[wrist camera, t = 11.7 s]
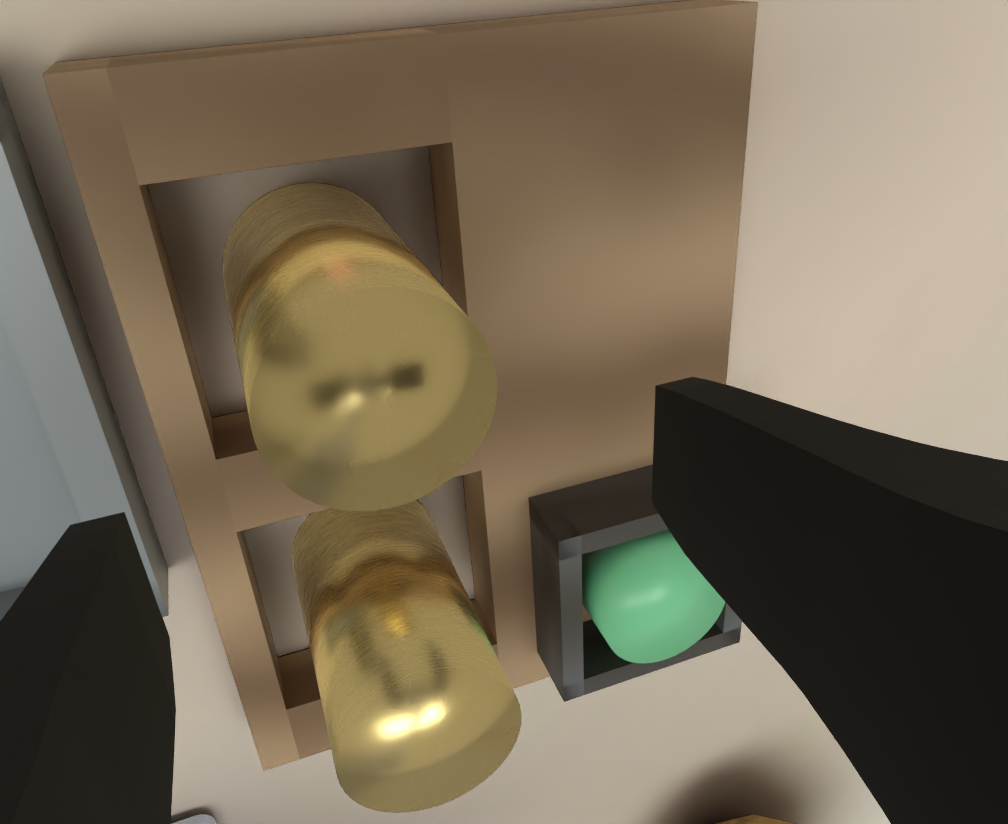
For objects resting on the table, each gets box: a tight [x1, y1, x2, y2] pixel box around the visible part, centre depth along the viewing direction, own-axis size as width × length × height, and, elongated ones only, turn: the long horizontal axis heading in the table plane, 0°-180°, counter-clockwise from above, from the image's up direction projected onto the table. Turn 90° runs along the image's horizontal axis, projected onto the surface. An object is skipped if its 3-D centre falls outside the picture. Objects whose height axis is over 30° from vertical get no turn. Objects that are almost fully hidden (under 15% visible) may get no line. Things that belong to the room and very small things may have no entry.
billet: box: [222, 183, 497, 511], centre depth 16 cm, size 4×4×7 cm
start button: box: [582, 529, 725, 663], centre depth 23 cm, size 4×4×2 cm
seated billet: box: [292, 500, 521, 813], centre depth 20 cm, size 4×4×7 cm
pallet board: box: [42, 0, 758, 771], centre depth 20 cm, size 18×14×4 cm
